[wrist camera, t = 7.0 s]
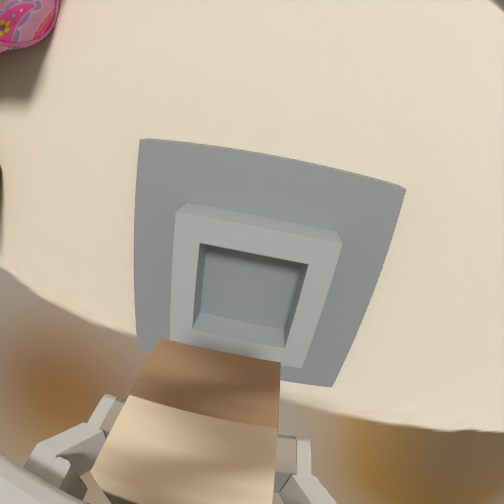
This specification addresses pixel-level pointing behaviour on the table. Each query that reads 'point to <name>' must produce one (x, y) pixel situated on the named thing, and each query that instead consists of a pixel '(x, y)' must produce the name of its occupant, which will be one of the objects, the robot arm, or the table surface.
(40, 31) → the pencil case
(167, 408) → the stack block
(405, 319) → the table surface
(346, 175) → the socket board
